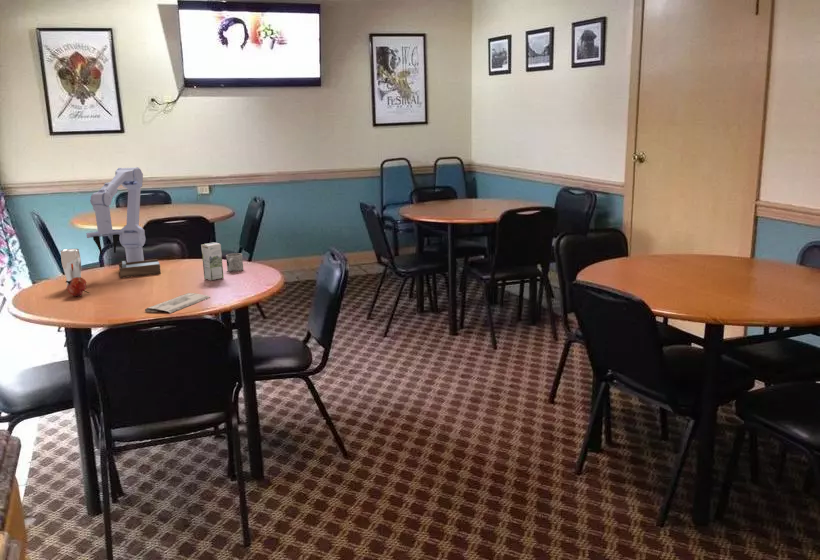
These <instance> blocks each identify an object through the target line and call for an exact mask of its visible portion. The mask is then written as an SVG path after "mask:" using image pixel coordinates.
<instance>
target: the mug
mask: <svg viewBox="0 0 820 560" xmlns="http://www.w3.org/2000/svg"><path fill="white" fill-rule="evenodd" d="M225 257H226V259H225V260H226V269H227V272H230V271H235V272H240V271H243V270H244V262H243V254H242V253H239V252H234V253H228V254H226V255H225Z"/></svg>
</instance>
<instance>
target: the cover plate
mask: <svg viewBox="0 0 820 560" xmlns="http://www.w3.org/2000/svg"><path fill="white" fill-rule="evenodd" d="M121 263H122V268H126V267H136V266H145V265H154V264H160V262H159V261H157V262H148V263H138V264H129V265H126V263H127V260H121Z"/></svg>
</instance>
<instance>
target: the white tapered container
mask: <svg viewBox="0 0 820 560" xmlns="http://www.w3.org/2000/svg"><path fill="white" fill-rule="evenodd" d="M60 258H61V259H60V260H61V261H60V262H61V265H62V268H63V272H64V275H65V277H66V278H65V279H66V281H70V280H72V279H73V278H75V277H81V278H82V259H81V253H80V249H79V248H69V249H63V250H60ZM67 285H68V283H67V282H66V286H67Z"/></svg>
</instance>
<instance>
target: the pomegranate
mask: <svg viewBox="0 0 820 560" xmlns="http://www.w3.org/2000/svg"><path fill="white" fill-rule="evenodd" d="M65 283H66V290H67V292H68V293H69V294H70V295H71V296H73V297H76V296H79V297H81V296H82V295H83V293H87V294H89V293H90V292H88V291H86V288H87V281H86V279H84V277H82V276H81V277H75V278H73V279H72V280H70V281H67V280H66V281H65ZM67 283H68V285H67Z"/></svg>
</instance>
